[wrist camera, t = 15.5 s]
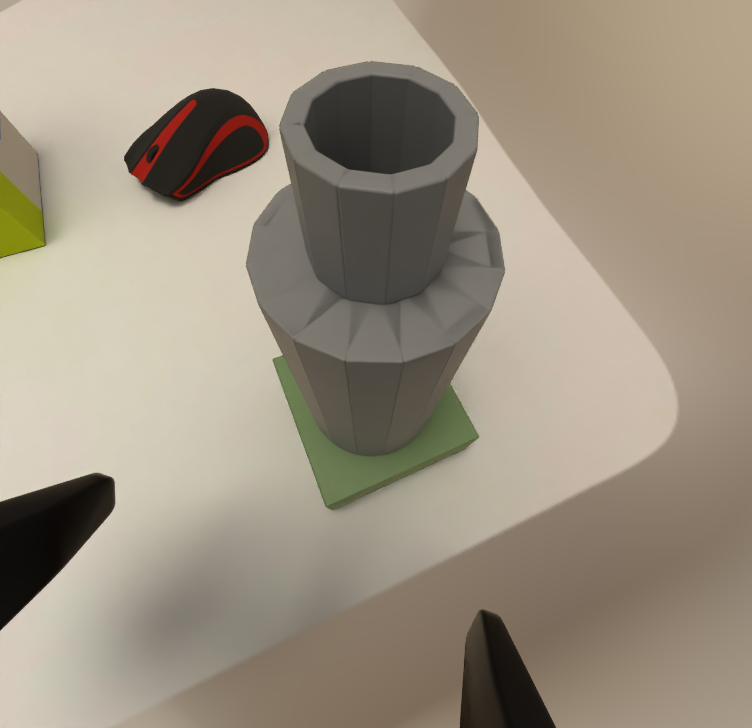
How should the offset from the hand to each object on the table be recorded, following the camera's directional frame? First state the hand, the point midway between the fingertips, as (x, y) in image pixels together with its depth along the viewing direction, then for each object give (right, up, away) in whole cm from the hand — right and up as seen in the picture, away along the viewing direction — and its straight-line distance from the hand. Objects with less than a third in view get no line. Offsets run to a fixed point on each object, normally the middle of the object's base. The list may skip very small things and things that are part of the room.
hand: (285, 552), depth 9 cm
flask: (+2, +3, +10) cm, 11 cm away
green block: (+2, +1, +13) cm, 13 cm away
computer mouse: (-11, +21, +21) cm, 32 cm away
